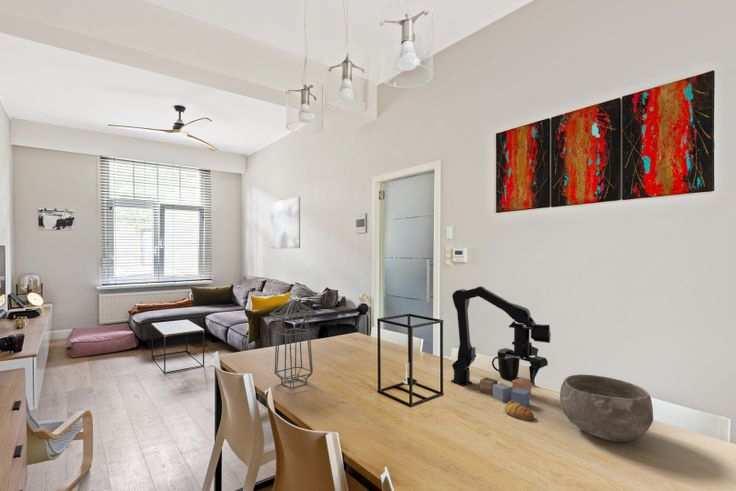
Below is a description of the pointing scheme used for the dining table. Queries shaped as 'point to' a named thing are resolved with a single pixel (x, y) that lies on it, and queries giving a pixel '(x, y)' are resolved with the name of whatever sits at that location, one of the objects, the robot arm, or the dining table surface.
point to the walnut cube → (487, 386)
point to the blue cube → (520, 396)
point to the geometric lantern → (289, 306)
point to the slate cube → (502, 392)
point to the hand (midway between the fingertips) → (521, 379)
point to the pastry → (518, 411)
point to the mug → (504, 371)
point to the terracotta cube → (521, 384)
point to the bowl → (607, 407)
